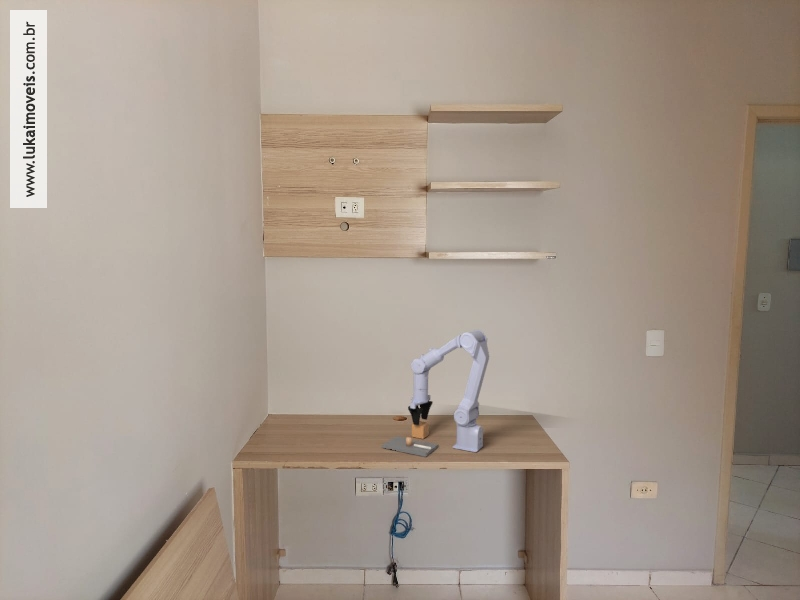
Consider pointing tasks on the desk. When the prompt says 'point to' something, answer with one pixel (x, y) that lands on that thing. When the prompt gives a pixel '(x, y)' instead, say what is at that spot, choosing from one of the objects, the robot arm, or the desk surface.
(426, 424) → the orange cube
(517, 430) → the desk surface
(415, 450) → the plate
